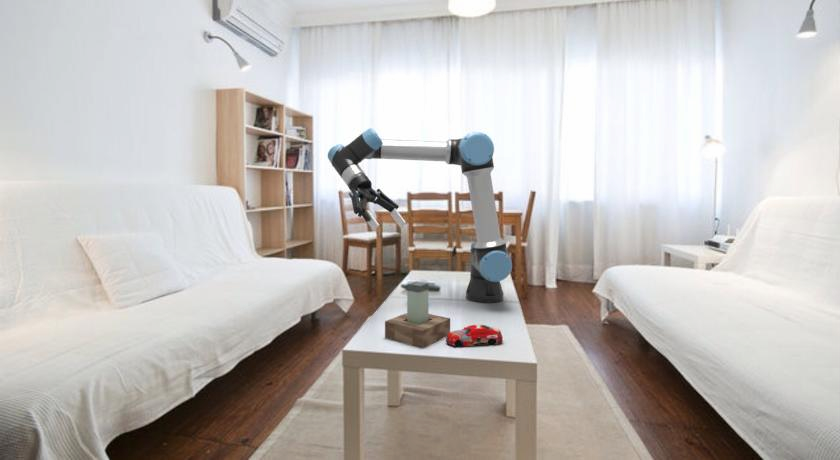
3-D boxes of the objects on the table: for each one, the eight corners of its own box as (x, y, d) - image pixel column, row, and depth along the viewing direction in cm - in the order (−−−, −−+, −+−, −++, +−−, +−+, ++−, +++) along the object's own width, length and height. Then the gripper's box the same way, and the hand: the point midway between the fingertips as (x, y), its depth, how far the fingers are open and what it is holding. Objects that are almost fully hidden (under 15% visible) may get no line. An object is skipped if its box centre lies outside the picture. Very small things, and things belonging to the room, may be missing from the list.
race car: (448, 349, 117) (448, 332, 117) (443, 340, 124) (444, 324, 123) (504, 346, 119) (505, 329, 119) (497, 338, 126) (497, 322, 125)
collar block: (413, 325, 136) (413, 310, 136) (450, 334, 128) (450, 318, 128) (385, 337, 125) (384, 321, 125) (423, 348, 117) (423, 330, 117)
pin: (416, 332, 130) (416, 281, 128) (428, 335, 127) (428, 283, 126) (407, 336, 126) (407, 284, 125) (419, 339, 124) (419, 286, 122)
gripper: (375, 189, 158) (407, 231, 151) (324, 188, 138) (357, 237, 131) (386, 174, 155) (419, 216, 147) (335, 172, 135) (370, 221, 127)
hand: (390, 226), depth 139 cm, fingers open, 13 cm apart
